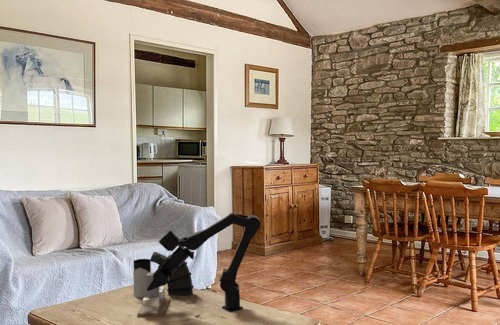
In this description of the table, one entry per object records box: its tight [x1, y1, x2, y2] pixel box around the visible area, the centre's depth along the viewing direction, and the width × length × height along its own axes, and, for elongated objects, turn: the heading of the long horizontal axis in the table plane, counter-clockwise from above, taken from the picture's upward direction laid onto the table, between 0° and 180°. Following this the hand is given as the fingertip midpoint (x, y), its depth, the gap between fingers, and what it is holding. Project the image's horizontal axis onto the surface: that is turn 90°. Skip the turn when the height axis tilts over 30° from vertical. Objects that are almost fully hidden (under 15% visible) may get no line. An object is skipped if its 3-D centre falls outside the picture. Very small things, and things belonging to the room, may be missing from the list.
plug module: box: [146, 272, 160, 304], centre depth 195 cm, size 4×4×13 cm
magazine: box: [166, 260, 194, 296], centre depth 216 cm, size 4×13×15 cm, turn 80°
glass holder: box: [132, 258, 152, 298], centre depth 220 cm, size 9×14×15 cm, turn 178°
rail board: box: [136, 285, 171, 318], centre depth 198 cm, size 10×20×6 cm, turn 2°
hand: (149, 286), depth 195 cm, fingers open, 9 cm apart
